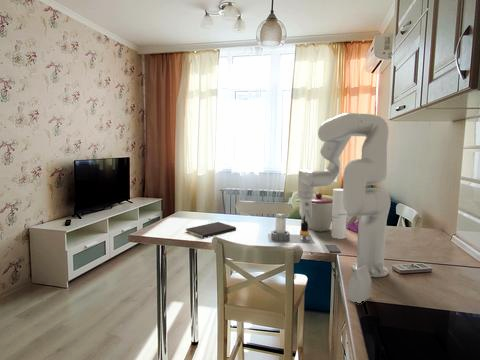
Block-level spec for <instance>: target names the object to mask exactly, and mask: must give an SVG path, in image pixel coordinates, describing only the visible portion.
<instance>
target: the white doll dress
mask: <svg viewBox="0 0 480 360" xmlns="http://www.w3.org/2000/svg"><path fill="white" fill-rule="evenodd" d="M352 273H353V274H352V275H351V277H350V279H349V280H348V292H347V293H348V296H347V300H348V301H349V302H352V301H353V303H354V302H357V303H361V302H362V301H364V302H366V301H368V300H369V299H371V298H370V297H371V295H372V294H371V293H372V277H370V274H369V272H368V269H367V265H365V266H362V267H360V268H358V269H356V270H353V272H352ZM367 299H368V300H367ZM365 300H366V301H365ZM357 303H356V304H357ZM361 304H362V303H361Z"/></svg>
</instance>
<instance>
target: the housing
mask: <svg viewBox="0 0 480 360" xmlns="http://www.w3.org/2000/svg"><path fill="white" fill-rule="evenodd" d="M267 239H268V243H280V244H281V243H282V244H283V243H284V244H286V243H287V244H316V242H315V240H314V239H313V238H312V236H311V234H309V236H306V239H303V236H301V235H300V234H290V231H288V230H286V231H285V234H276V233H275V229H274V230H272V231H271V233H268V234H267Z"/></svg>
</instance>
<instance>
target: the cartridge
mask: <svg viewBox="0 0 480 360" xmlns="http://www.w3.org/2000/svg"><path fill="white" fill-rule="evenodd" d="M286 218H287V214H285V213H276V214H275V229H274V230H275V233H276V234H285V231H287V230H286V228H287V227H286V225H287V223H286V221H287V219H286Z"/></svg>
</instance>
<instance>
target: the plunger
mask: <svg viewBox="0 0 480 360" xmlns="http://www.w3.org/2000/svg"><path fill="white" fill-rule="evenodd" d="M299 235H301V236H303V238H302V240H307V238H306V236H309V235H310V230H308V231H301V229H300V230H299Z"/></svg>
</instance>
